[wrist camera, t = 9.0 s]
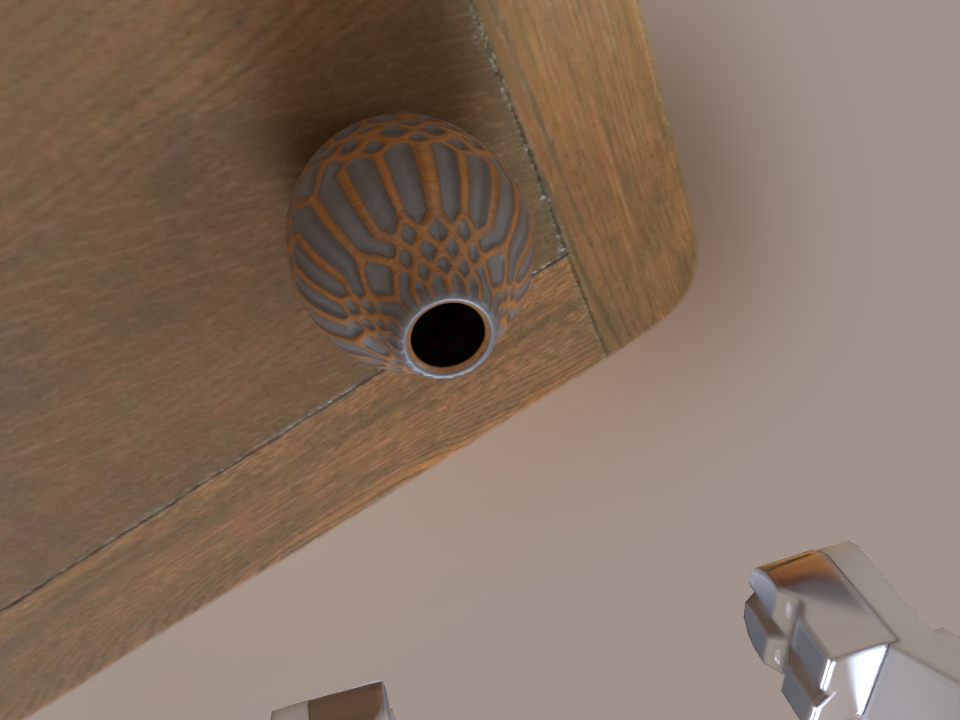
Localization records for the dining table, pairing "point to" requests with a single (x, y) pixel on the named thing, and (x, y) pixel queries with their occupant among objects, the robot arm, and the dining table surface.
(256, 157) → the dining table surface
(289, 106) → the dining table surface
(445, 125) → the vase
